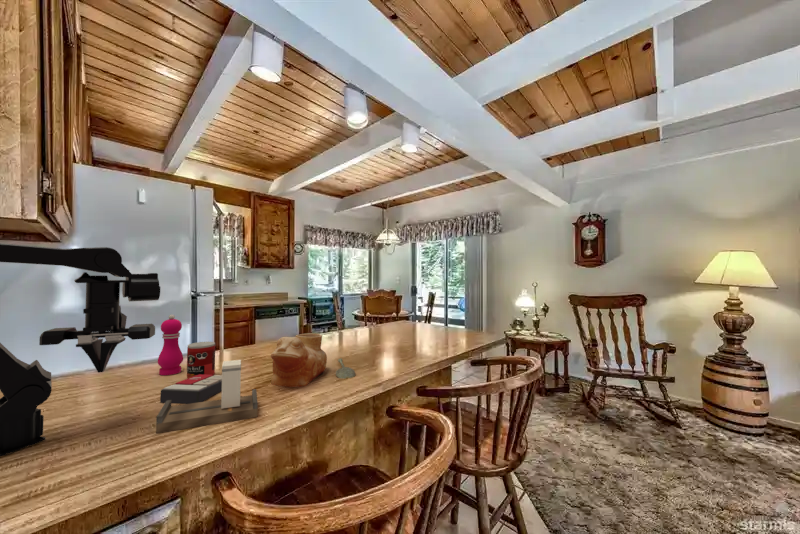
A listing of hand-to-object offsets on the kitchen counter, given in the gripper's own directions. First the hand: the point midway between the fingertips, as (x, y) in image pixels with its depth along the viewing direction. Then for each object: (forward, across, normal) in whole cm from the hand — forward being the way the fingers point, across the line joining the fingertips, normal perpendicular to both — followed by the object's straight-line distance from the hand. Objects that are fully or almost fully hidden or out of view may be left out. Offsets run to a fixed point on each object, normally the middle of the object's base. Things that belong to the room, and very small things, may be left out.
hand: (101, 371), depth 75 cm
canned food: (+12, -16, -31) cm, 37 cm away
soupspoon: (+13, -62, -21) cm, 67 cm away
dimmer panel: (+12, -22, +4) cm, 26 cm away
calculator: (+13, -18, -14) cm, 26 cm away
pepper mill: (+12, -6, -40) cm, 43 cm away
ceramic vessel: (+12, -46, -17) cm, 51 cm away
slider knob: (+10, -27, +4) cm, 29 cm away
